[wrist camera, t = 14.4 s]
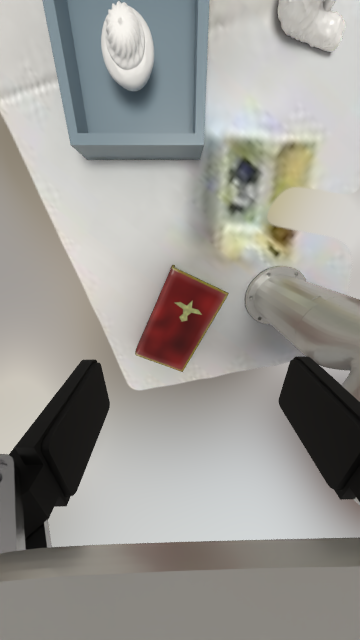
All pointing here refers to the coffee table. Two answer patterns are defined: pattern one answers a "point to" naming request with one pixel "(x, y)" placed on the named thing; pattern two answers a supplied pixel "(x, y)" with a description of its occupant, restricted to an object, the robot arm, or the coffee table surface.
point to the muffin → (127, 47)
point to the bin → (128, 106)
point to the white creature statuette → (312, 22)
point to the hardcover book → (179, 319)
